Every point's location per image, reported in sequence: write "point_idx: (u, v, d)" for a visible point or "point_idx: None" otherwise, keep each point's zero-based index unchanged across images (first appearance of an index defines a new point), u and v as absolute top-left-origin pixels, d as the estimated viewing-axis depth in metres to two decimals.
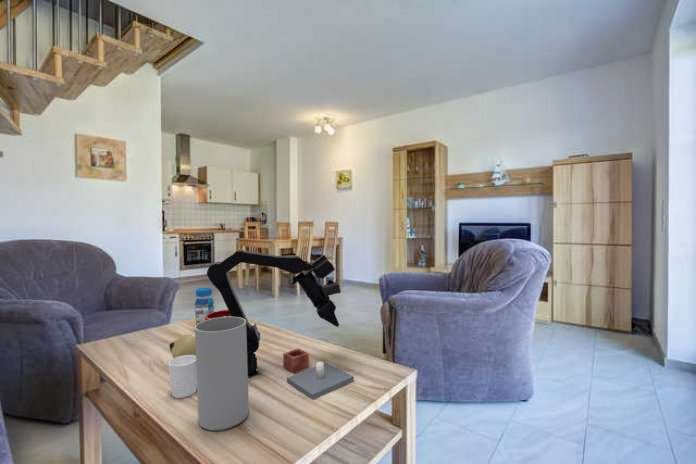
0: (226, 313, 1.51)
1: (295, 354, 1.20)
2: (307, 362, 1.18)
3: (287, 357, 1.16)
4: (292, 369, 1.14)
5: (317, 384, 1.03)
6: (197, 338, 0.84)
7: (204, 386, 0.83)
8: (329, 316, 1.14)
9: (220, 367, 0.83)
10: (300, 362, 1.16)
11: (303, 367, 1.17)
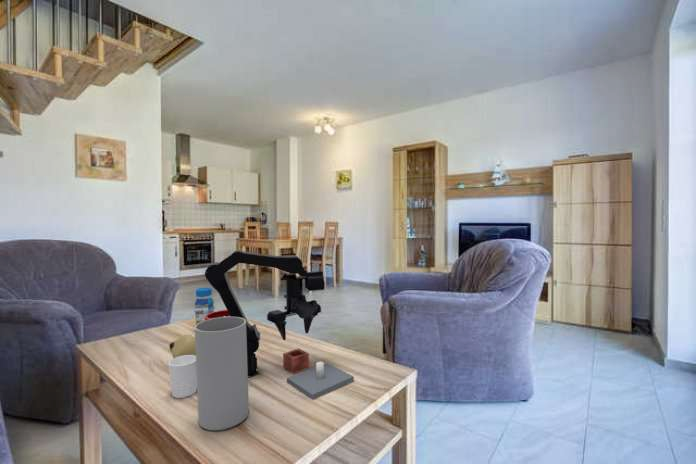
0: (226, 313, 1.51)
1: (295, 354, 1.20)
2: (307, 362, 1.18)
3: (287, 357, 1.16)
4: (292, 369, 1.14)
5: (317, 384, 1.03)
6: (197, 338, 0.84)
7: (204, 386, 0.83)
8: (279, 325, 1.14)
9: (220, 367, 0.83)
10: (300, 362, 1.16)
11: (303, 367, 1.17)
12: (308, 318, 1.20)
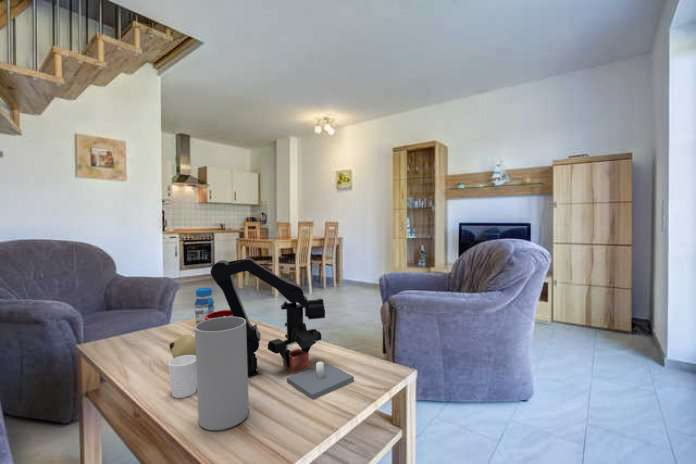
0: (226, 313, 1.51)
1: (295, 354, 1.20)
2: (307, 362, 1.18)
3: None
4: (292, 369, 1.14)
5: (317, 384, 1.03)
6: (197, 338, 0.84)
7: (204, 386, 0.83)
8: (283, 353, 1.16)
9: (220, 367, 0.83)
10: (300, 362, 1.16)
11: (303, 367, 1.17)
12: (306, 347, 1.20)
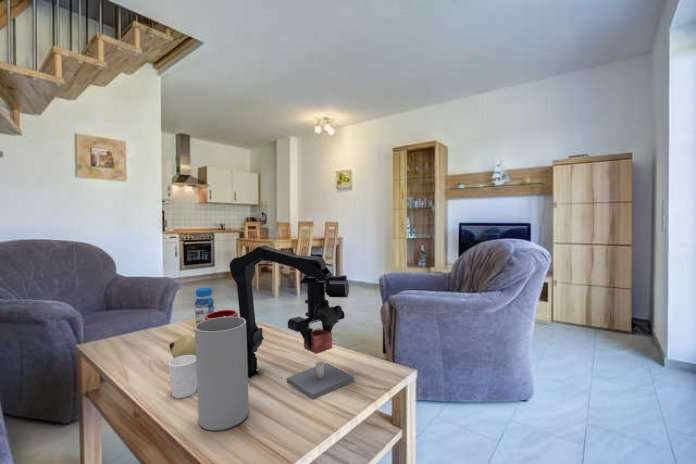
0: (226, 313, 1.51)
1: (316, 334, 1.11)
2: (330, 342, 1.08)
3: None
4: (315, 349, 1.04)
5: (317, 384, 1.03)
6: (197, 338, 0.84)
7: (204, 386, 0.83)
8: (304, 333, 1.06)
9: (220, 367, 0.83)
10: (323, 342, 1.06)
11: (326, 347, 1.07)
12: (328, 326, 1.10)
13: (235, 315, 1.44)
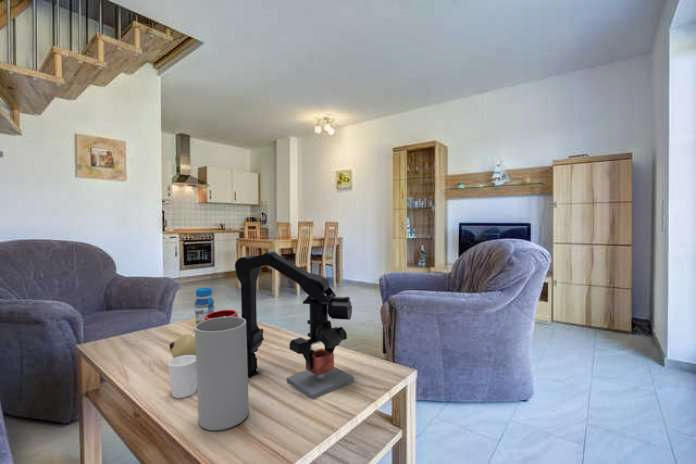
0: (226, 313, 1.51)
1: (318, 354, 1.10)
2: (332, 363, 1.07)
3: None
4: (316, 371, 1.04)
5: (317, 384, 1.03)
6: (197, 338, 0.84)
7: (204, 386, 0.83)
8: (306, 354, 1.05)
9: (220, 367, 0.83)
10: (324, 363, 1.05)
11: (328, 369, 1.06)
12: None
13: (235, 315, 1.44)
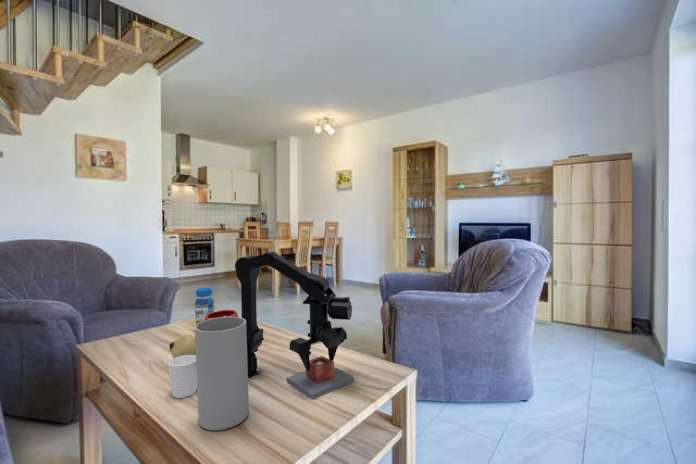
0: (226, 313, 1.51)
1: None
2: (332, 371, 1.07)
3: (311, 366, 1.06)
4: (316, 379, 1.04)
5: (317, 384, 1.03)
6: (197, 338, 0.84)
7: (204, 386, 0.83)
8: (303, 355, 1.04)
9: (220, 367, 0.83)
10: (325, 371, 1.05)
11: (328, 377, 1.06)
12: None
13: (235, 315, 1.44)
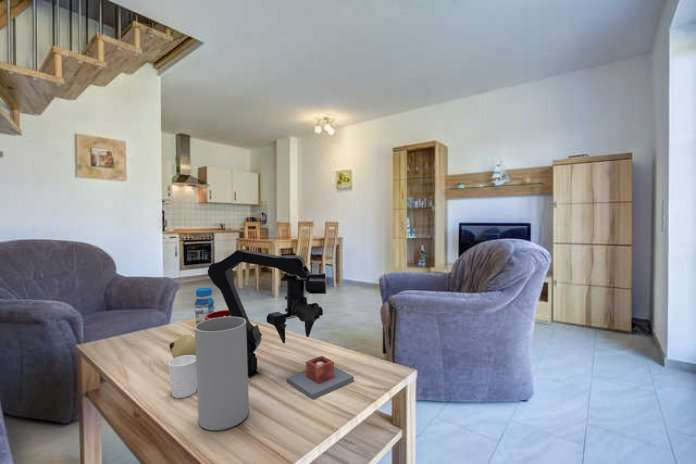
0: (226, 313, 1.51)
1: None
2: (332, 371, 1.07)
3: (311, 366, 1.06)
4: (316, 379, 1.04)
5: (317, 384, 1.03)
6: (197, 338, 0.84)
7: (204, 386, 0.83)
8: (279, 328, 1.10)
9: (220, 367, 0.83)
10: (325, 371, 1.05)
11: (328, 377, 1.06)
12: (309, 321, 1.16)
13: None
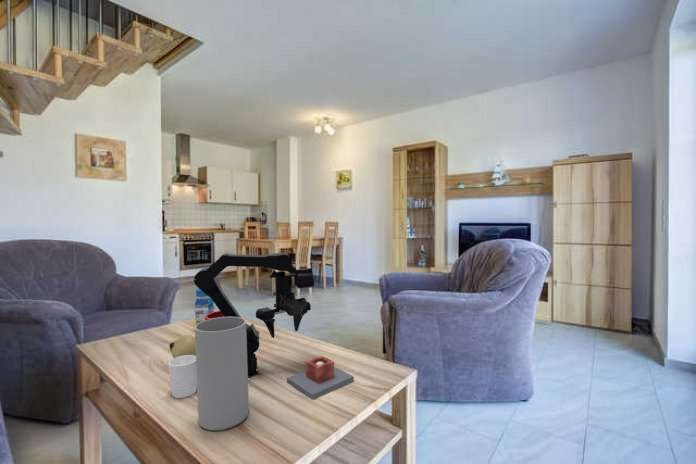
0: None
1: None
2: (332, 371, 1.07)
3: (311, 366, 1.06)
4: (316, 379, 1.04)
5: (317, 384, 1.03)
6: (197, 338, 0.84)
7: (204, 386, 0.83)
8: (268, 323, 1.14)
9: (220, 367, 0.83)
10: (325, 371, 1.05)
11: (328, 377, 1.06)
12: (298, 316, 1.20)
13: None
